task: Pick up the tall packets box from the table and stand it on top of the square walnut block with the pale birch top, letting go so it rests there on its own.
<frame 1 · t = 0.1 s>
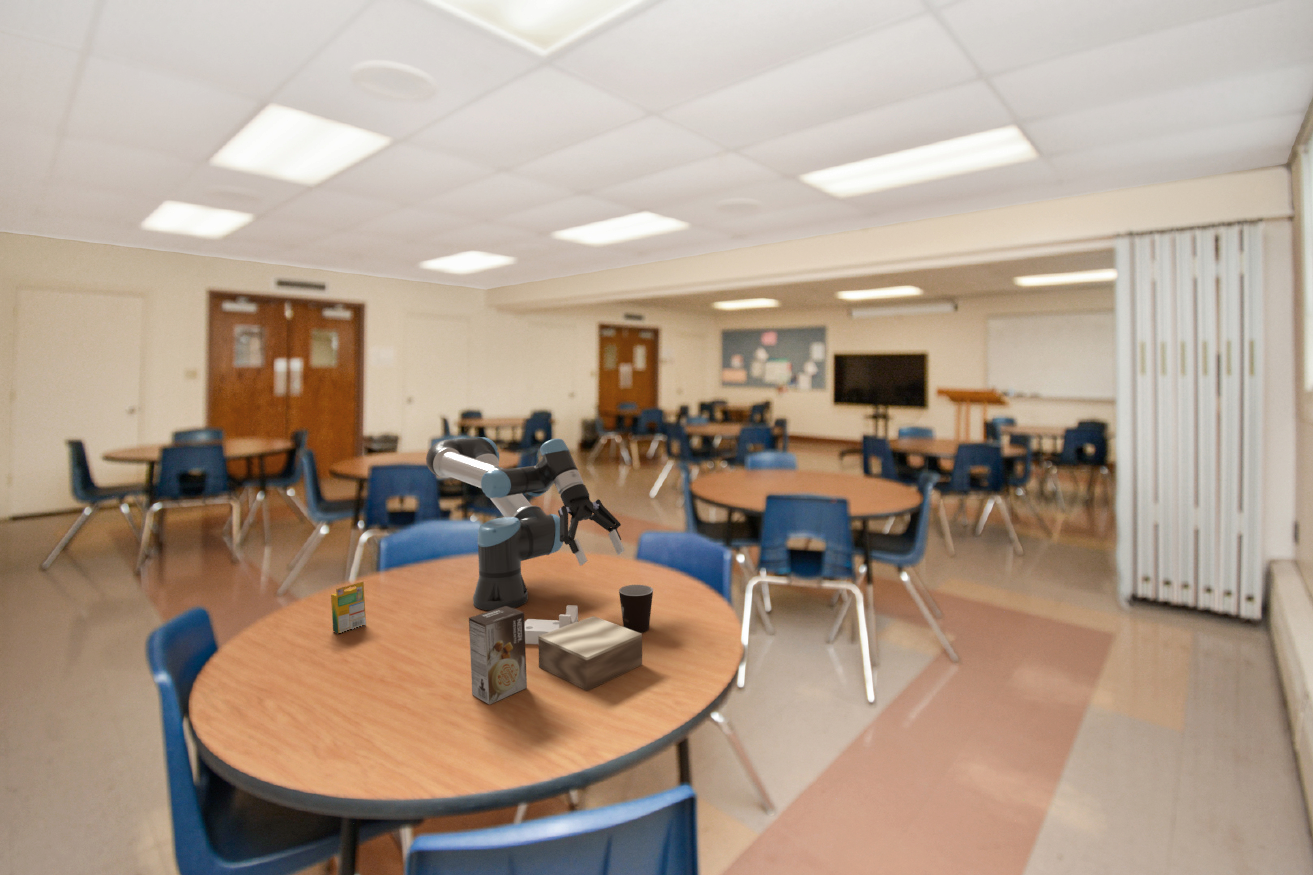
hand: (603, 557, 166), 15 cm above the table, tool tilted 35°, fingers open, 13 cm apart
riser block: (590, 665, 136), on the table
coffee box: (499, 692, 125), on the table
coffee mug: (637, 627, 158), on the table
crayon box: (349, 629, 158), on the table
bracket: (548, 640, 151), on the table
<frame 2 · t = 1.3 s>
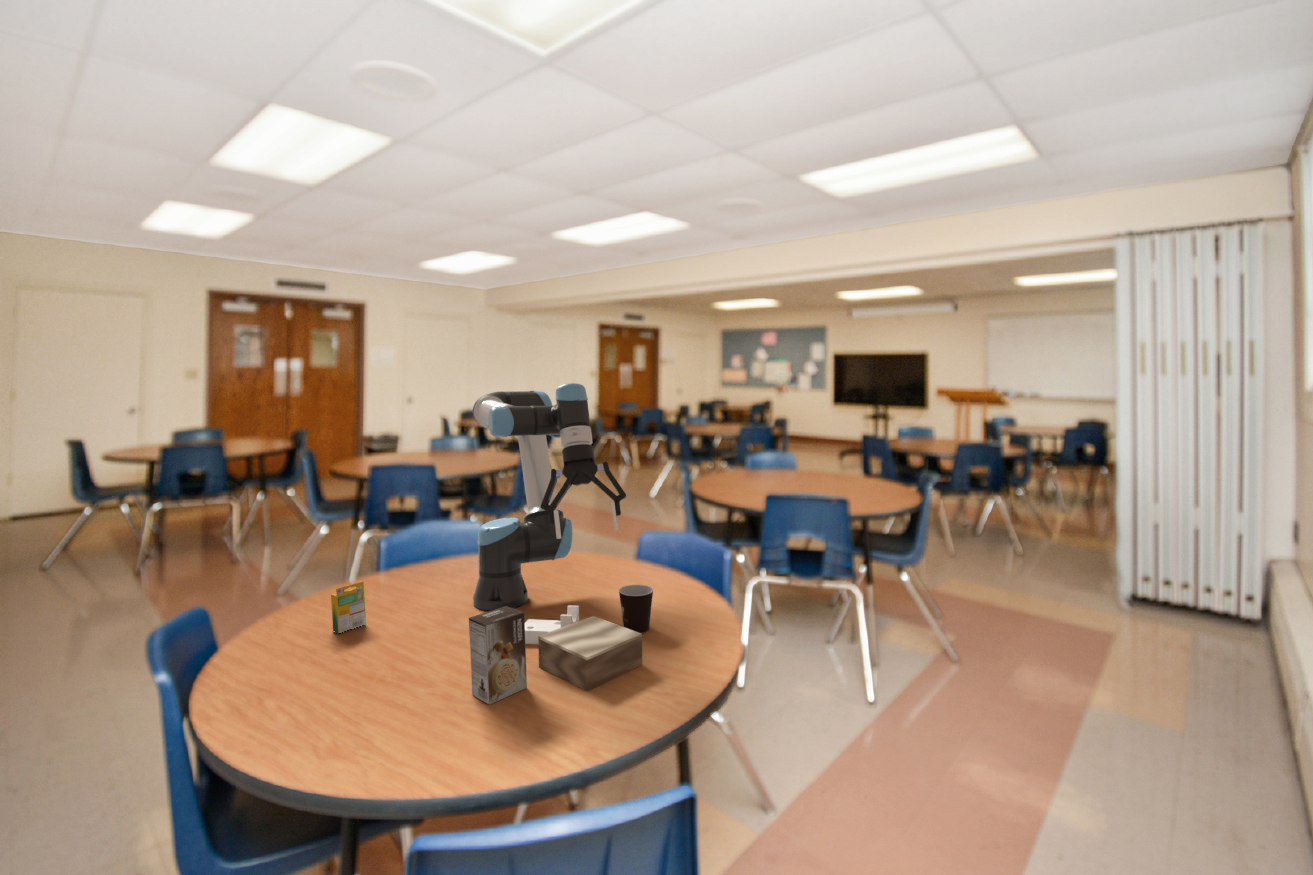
hand: (587, 534, 146), 27 cm above the table, tool tilted 20°, fingers open, 13 cm apart
nothing on the table moved.
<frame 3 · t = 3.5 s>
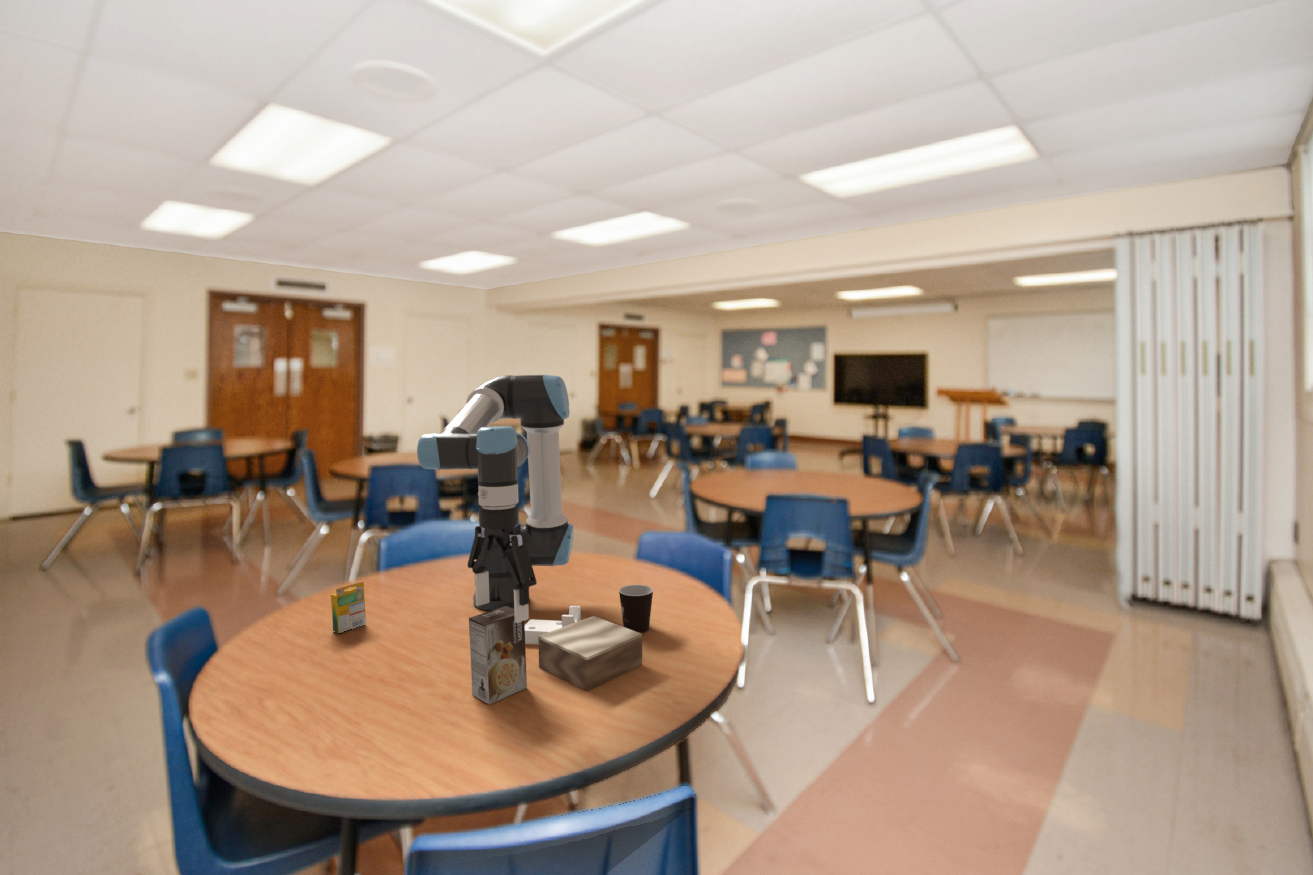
hand: (501, 612, 122), 17 cm above the table, tool pointing down, fingers open, 13 cm apart
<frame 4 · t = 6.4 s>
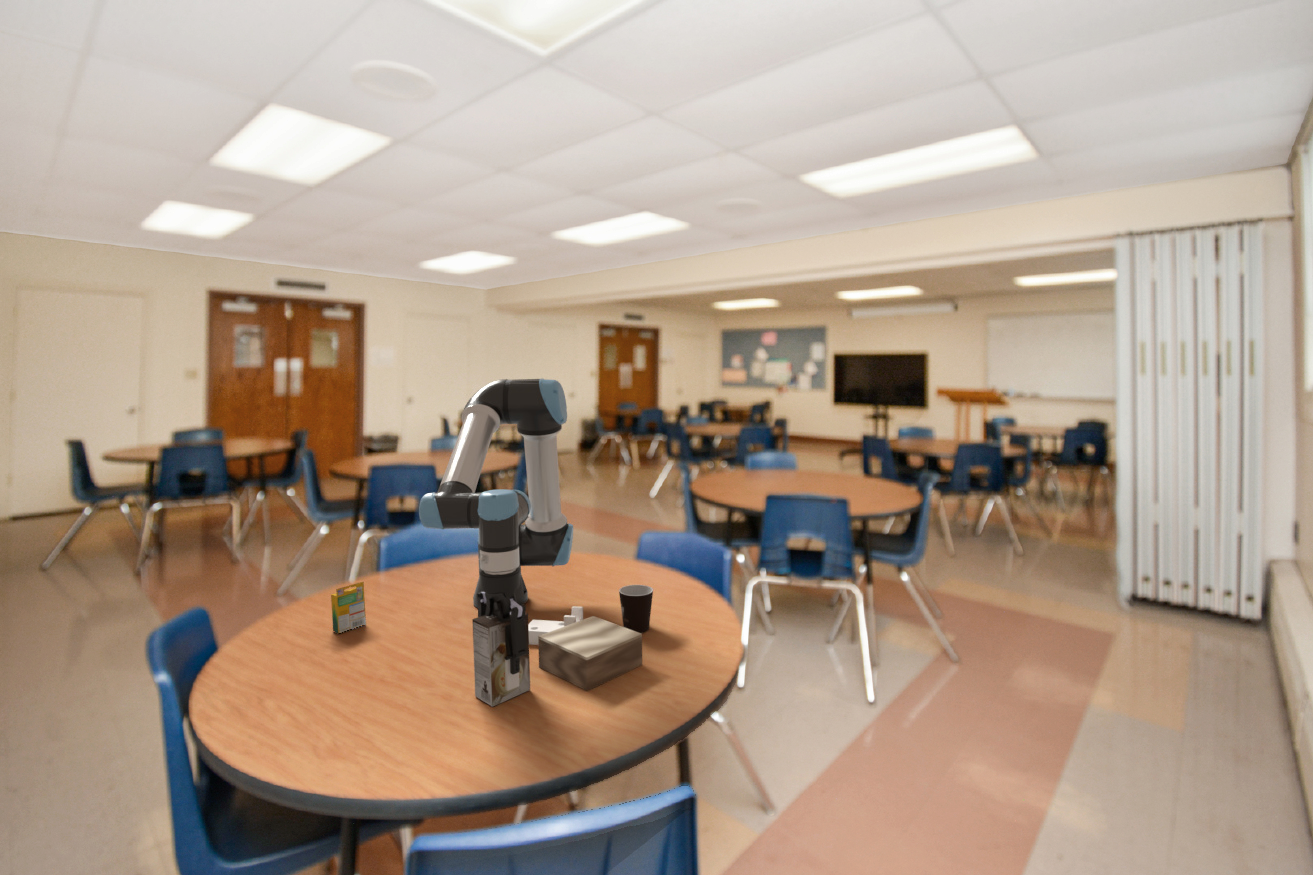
hand: (502, 681, 124), 2 cm above the table, tool pointing down, fingers closed on coffee box, 6 cm apart
coffee box: (502, 694, 124), on the table, touching gripper
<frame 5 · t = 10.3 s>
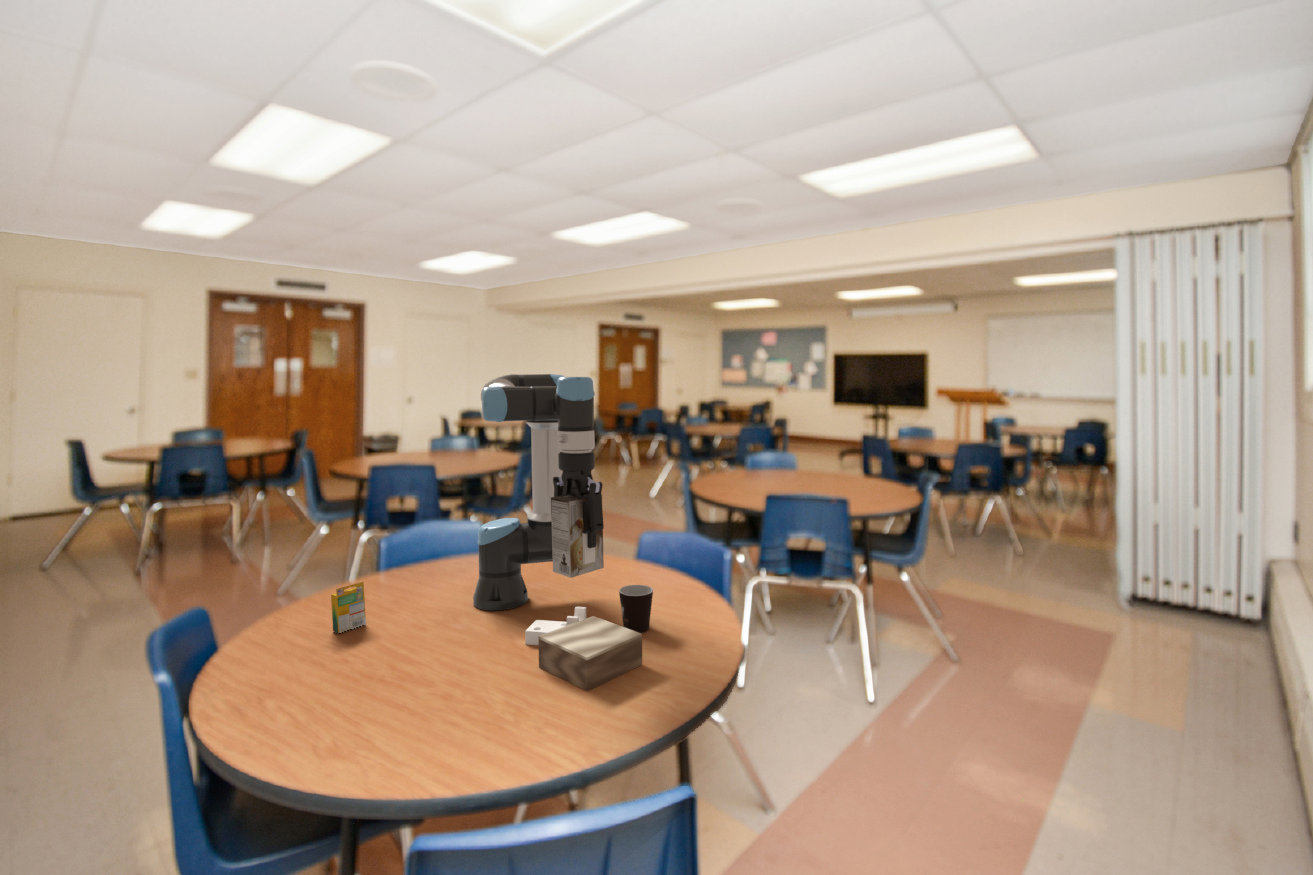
hand: (578, 558, 131), 25 cm above the table, tool pointing down, fingers closed on coffee box, 6 cm apart
coffee box: (578, 571, 131), point 22 cm above the table, touching gripper
when the fingers open (11 cm above the table, at t = 13.9 s): coffee box drops 2 cm, resting on riser block.
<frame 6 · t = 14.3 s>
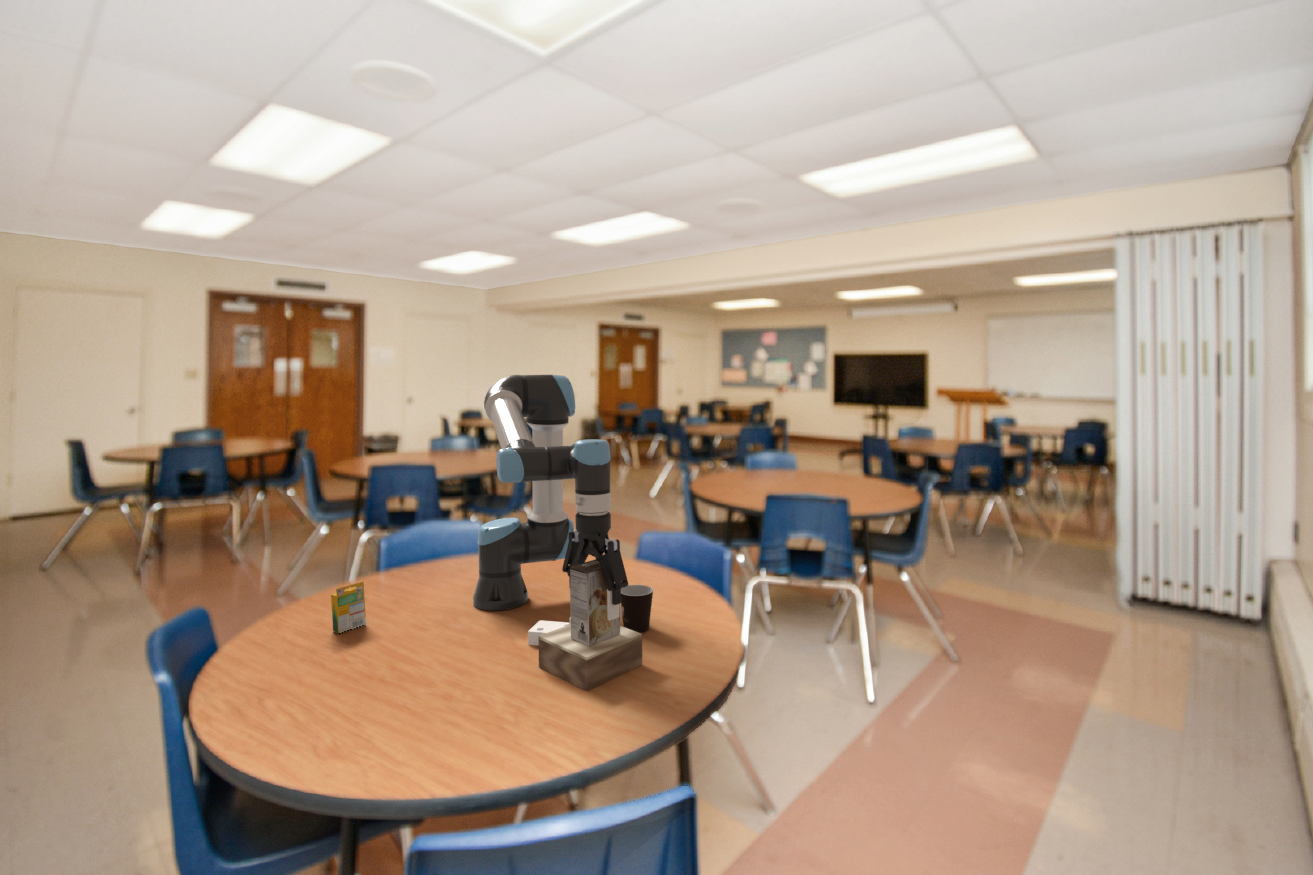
hand: (594, 611, 134), 13 cm above the table, tool pointing down, fingers open, 11 cm apart
coffee box: (595, 637, 135), point 7 cm above the table, touching riser block
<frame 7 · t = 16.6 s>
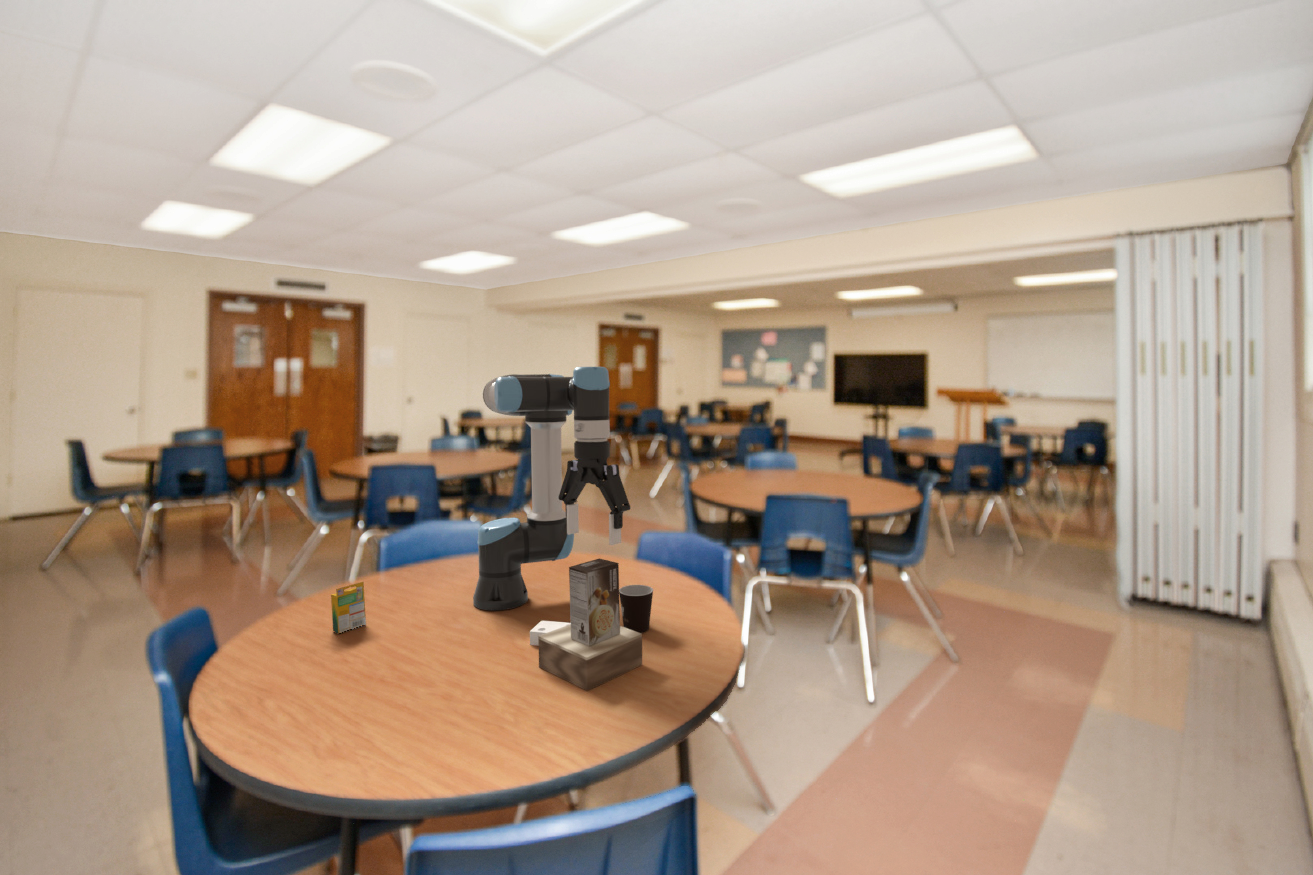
hand: (593, 538, 133), 29 cm above the table, tool pointing down, fingers open, 13 cm apart
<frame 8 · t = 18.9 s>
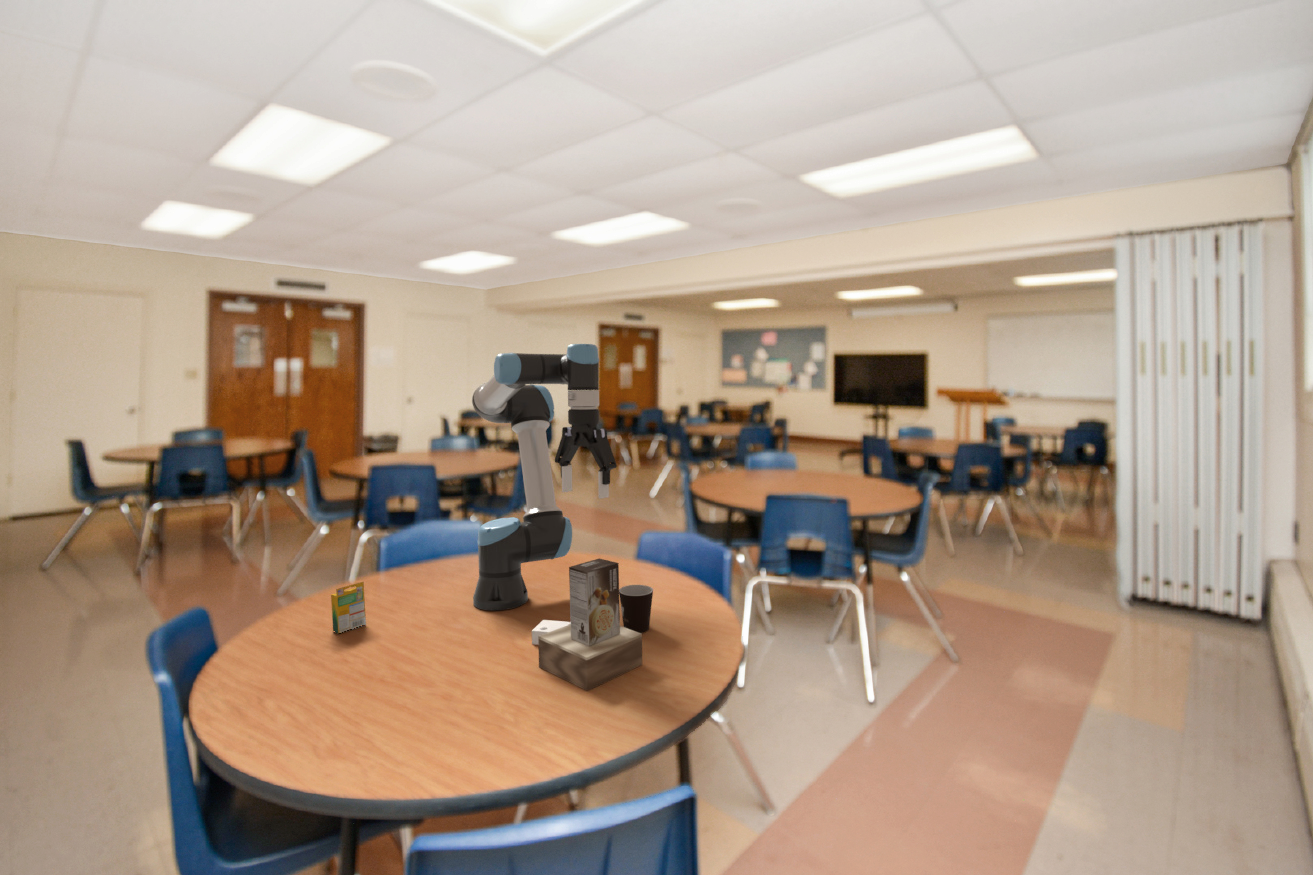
hand: (584, 494, 152), 35 cm above the table, tool pointing down, fingers open, 13 cm apart
at the end: coffee box inside the target area on the riser block (1.6 cm from its centre), point 6.8 cm above the riser block's base; coffee box tilted 0°; the gripper is holding nothing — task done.
